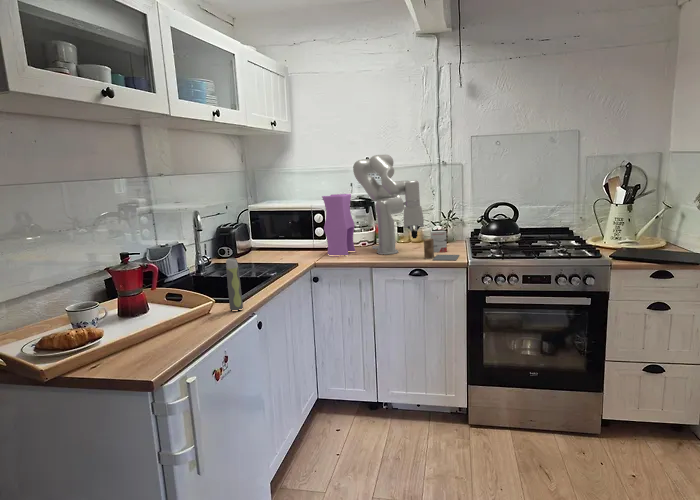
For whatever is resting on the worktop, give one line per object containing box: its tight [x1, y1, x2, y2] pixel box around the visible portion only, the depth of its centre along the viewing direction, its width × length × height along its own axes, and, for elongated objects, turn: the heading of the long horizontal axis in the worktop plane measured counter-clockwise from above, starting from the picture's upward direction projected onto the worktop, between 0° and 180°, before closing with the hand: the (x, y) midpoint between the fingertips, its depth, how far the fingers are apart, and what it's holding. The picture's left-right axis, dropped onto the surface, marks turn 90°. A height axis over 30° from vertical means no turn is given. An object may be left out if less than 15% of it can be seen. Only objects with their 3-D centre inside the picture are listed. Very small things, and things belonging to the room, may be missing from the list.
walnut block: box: [423, 238, 435, 260], centre depth 256 cm, size 4×6×10 cm, turn 160°
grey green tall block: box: [225, 257, 244, 310], centre depth 178 cm, size 5×5×20 cm
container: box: [321, 193, 357, 256], centre depth 280 cm, size 14×14×35 cm
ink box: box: [430, 230, 448, 253], centre depth 272 cm, size 9×5×12 cm, turn 84°
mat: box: [432, 254, 460, 262], centre depth 253 cm, size 12×14×1 cm
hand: (414, 238), depth 257 cm, fingers closed
